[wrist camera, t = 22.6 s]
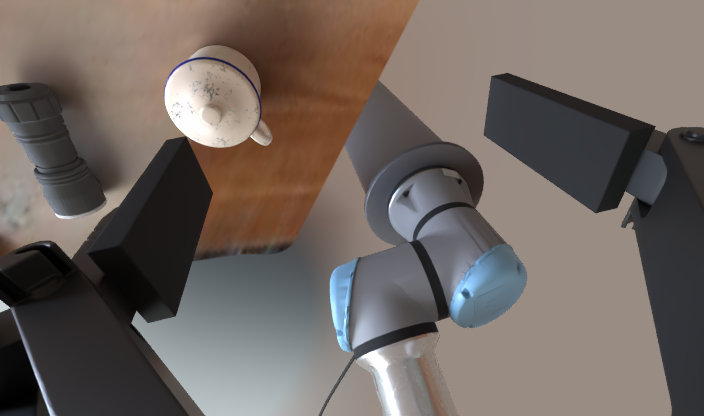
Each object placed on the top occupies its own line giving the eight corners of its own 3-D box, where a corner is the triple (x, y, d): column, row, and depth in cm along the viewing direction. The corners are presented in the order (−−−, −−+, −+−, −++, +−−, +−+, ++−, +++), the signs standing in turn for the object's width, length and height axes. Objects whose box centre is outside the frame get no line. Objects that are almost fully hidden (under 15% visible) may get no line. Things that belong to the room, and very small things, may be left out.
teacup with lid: (166, 80, 37) (132, 114, 28) (216, 23, 35) (197, 40, 26) (248, 147, 44) (242, 192, 35) (294, 102, 42) (301, 138, 32)
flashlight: (1, 78, 34) (-38, 92, 29) (59, 78, 35) (30, 92, 31) (68, 196, 43) (46, 220, 38) (113, 194, 44) (96, 217, 39)
